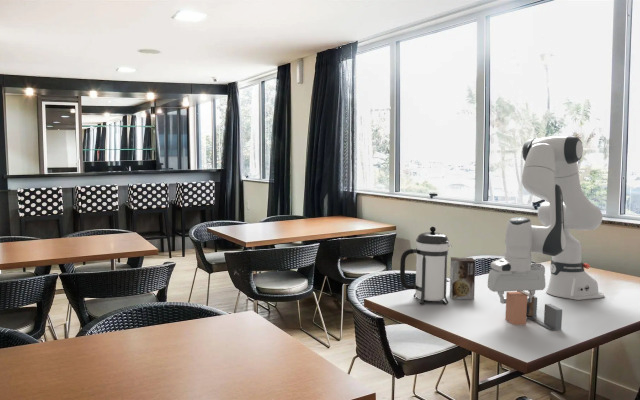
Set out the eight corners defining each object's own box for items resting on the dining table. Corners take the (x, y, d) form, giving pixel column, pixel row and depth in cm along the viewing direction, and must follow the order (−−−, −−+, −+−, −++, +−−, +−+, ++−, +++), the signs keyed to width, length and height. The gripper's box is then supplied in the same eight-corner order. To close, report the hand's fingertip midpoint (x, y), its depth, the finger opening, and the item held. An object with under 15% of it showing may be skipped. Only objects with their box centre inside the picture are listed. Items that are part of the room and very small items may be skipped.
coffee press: (423, 293, 220) (425, 222, 218) (456, 301, 209) (459, 226, 206) (398, 301, 208) (400, 226, 205) (432, 310, 197) (435, 231, 194)
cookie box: (471, 295, 218) (472, 257, 216) (474, 300, 211) (475, 260, 210) (449, 294, 219) (450, 256, 217) (451, 299, 212) (452, 259, 211)
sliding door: (520, 308, 197) (521, 289, 197) (533, 315, 188) (534, 296, 188) (498, 309, 196) (499, 290, 195) (510, 316, 187) (511, 297, 187)
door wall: (526, 310, 198) (527, 292, 197) (561, 330, 176) (562, 309, 175) (516, 310, 197) (516, 292, 196) (549, 330, 175) (550, 310, 175)
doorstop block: (517, 318, 188) (518, 291, 187) (525, 324, 182) (527, 296, 181) (505, 319, 187) (506, 291, 186) (513, 324, 181) (514, 296, 180)
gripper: (539, 261, 188) (538, 299, 189) (486, 262, 185) (484, 301, 186) (550, 265, 181) (548, 304, 183) (494, 266, 178) (493, 306, 180)
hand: (515, 302), depth 184 cm, fingers open, 8 cm apart
